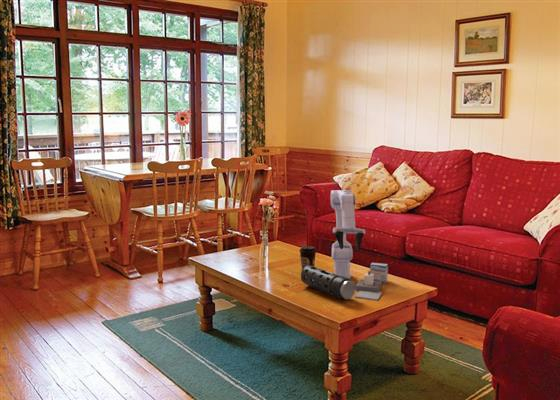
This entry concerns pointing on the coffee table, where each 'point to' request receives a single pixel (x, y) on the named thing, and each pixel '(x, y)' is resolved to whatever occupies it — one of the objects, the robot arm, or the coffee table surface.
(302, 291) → the coffee table surface
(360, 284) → the socket block
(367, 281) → the plug
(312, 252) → the coffee cup
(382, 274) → the medicine box
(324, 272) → the muzzle brake
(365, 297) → the rubber pad
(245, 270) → the coffee table surface
